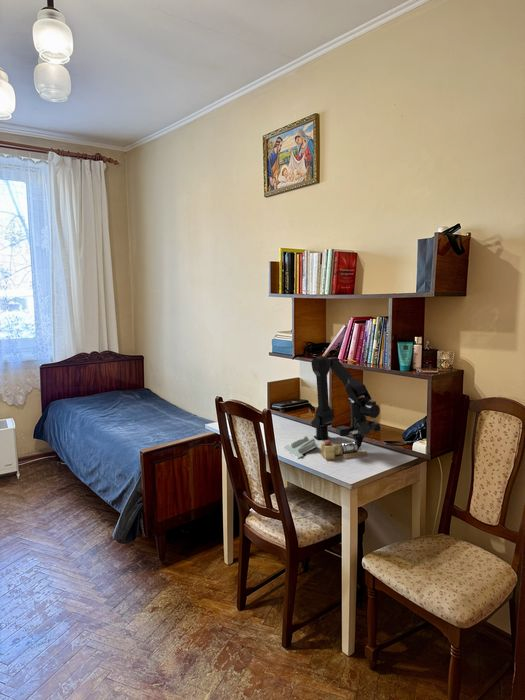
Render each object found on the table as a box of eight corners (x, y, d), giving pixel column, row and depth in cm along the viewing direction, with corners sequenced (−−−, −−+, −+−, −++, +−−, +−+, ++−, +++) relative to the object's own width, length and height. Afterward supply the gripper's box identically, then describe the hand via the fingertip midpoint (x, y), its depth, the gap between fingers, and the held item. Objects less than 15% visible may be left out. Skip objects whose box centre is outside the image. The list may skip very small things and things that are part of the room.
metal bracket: (306, 431, 221) (321, 441, 207) (309, 442, 223) (325, 453, 209) (279, 445, 217) (293, 456, 203) (283, 456, 218) (297, 468, 205)
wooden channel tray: (319, 454, 208) (318, 438, 207) (357, 448, 212) (357, 433, 210) (327, 462, 198) (327, 446, 197) (367, 456, 202) (367, 440, 201)
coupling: (340, 452, 207) (339, 441, 206) (353, 450, 208) (352, 439, 207) (344, 456, 202) (344, 445, 201) (357, 454, 203) (357, 443, 202)
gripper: (345, 421, 194) (346, 457, 196) (386, 415, 198) (387, 450, 200) (334, 413, 204) (336, 448, 207) (374, 408, 208) (375, 442, 211)
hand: (358, 447), depth 206 cm, fingers closed
